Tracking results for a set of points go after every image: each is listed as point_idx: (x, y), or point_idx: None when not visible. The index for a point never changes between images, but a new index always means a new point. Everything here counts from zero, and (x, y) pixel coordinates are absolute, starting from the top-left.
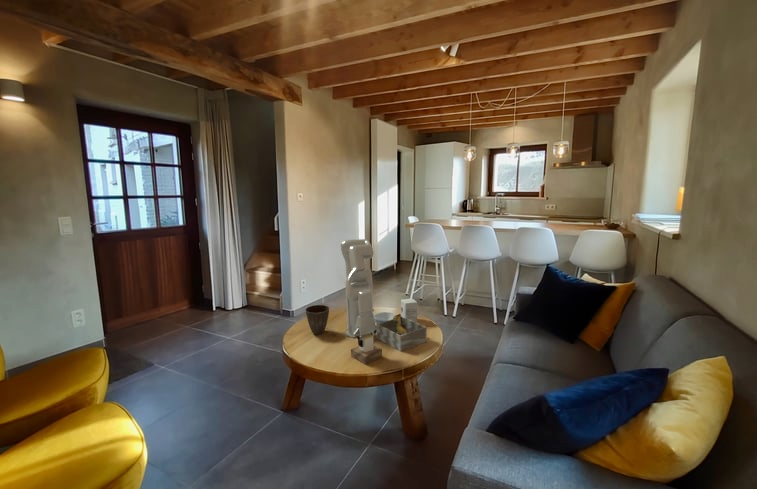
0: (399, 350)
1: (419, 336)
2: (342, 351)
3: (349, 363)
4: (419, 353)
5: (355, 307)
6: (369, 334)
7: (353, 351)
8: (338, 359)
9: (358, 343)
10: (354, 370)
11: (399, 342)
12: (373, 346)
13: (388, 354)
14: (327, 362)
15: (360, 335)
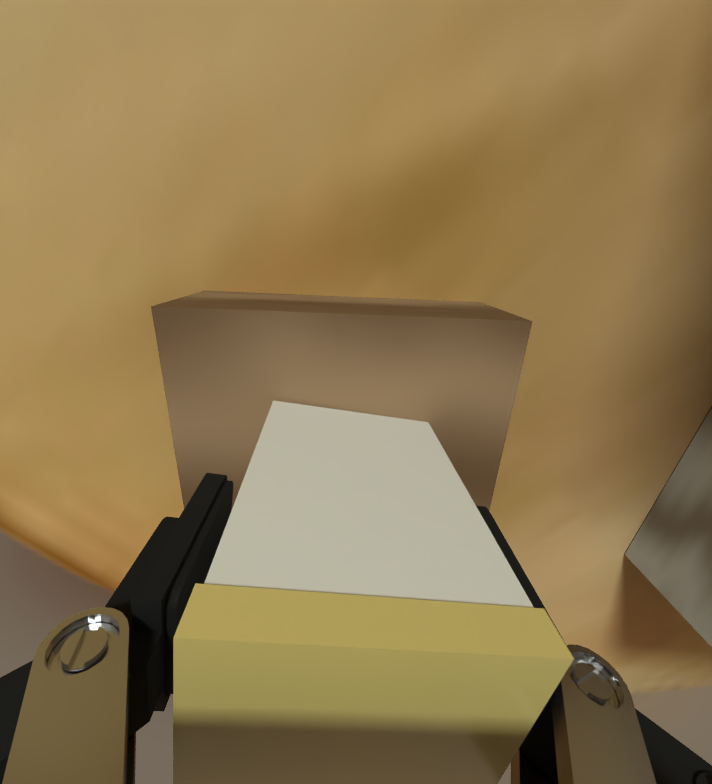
0: (632, 550)
1: None
2: (200, 26)
3: (106, 390)
4: (657, 651)
5: None
6: (456, 770)
7: (169, 369)
8: (25, 206)
9: (155, 540)
10: (83, 515)
11: (710, 630)
12: (468, 485)
13: (518, 524)
14: None
15: (179, 697)
